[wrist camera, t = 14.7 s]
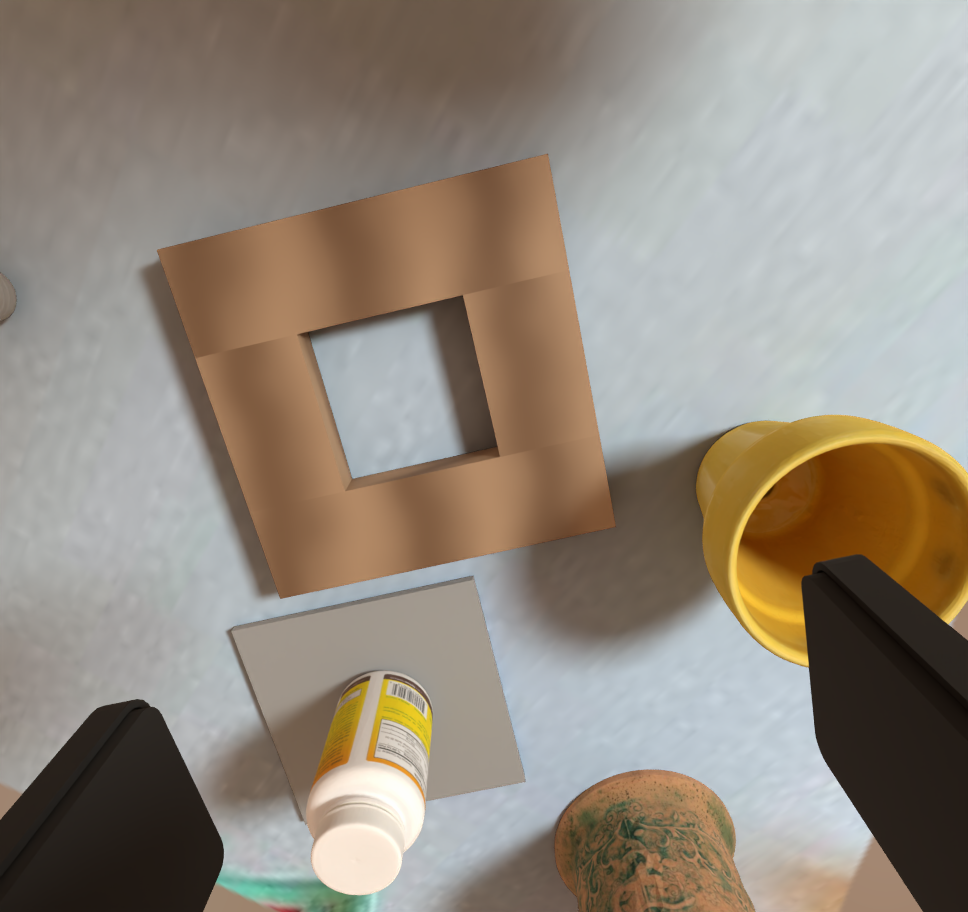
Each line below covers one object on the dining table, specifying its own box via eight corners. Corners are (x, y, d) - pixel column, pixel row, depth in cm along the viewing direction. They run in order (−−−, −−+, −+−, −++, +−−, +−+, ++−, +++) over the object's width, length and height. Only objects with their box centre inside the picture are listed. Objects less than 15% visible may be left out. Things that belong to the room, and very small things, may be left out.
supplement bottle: (342, 746, 38) (295, 911, 28) (336, 665, 37) (284, 810, 27) (435, 745, 38) (421, 910, 28) (433, 664, 37) (418, 809, 27)
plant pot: (640, 556, 35) (699, 659, 26) (682, 372, 33) (766, 413, 23) (819, 579, 36) (941, 688, 27) (876, 400, 33) (1034, 451, 24)
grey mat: (473, 575, 36) (473, 579, 35) (524, 775, 39) (525, 781, 39) (234, 626, 36) (231, 631, 36) (307, 818, 40) (305, 824, 40)
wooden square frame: (543, 161, 30) (547, 154, 28) (608, 512, 35) (616, 526, 33) (176, 251, 31) (156, 249, 29) (290, 581, 36) (280, 598, 34)
